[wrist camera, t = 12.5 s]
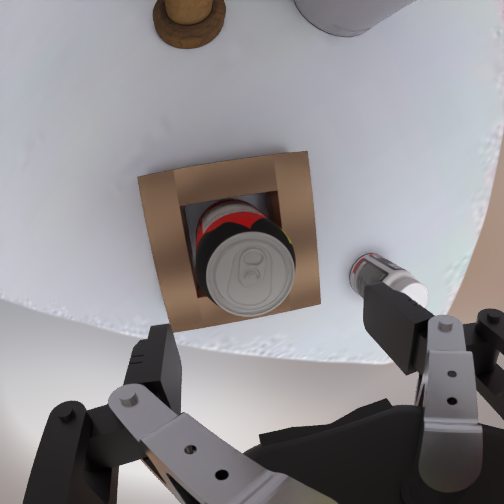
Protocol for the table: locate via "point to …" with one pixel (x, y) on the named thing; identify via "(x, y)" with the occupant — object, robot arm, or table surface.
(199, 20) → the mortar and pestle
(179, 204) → the socket block
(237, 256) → the beverage can
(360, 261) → the pill bottle
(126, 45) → the table surface
